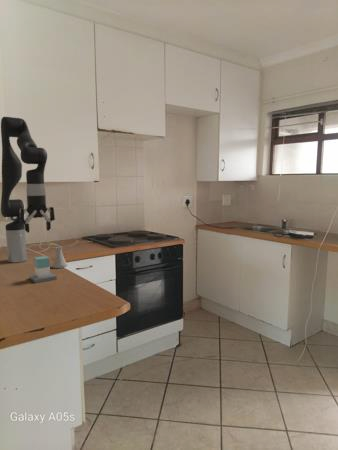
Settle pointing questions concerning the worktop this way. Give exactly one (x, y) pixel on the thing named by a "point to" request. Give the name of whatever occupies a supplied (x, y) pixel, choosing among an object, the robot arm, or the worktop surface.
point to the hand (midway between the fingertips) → (38, 231)
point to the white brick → (42, 272)
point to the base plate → (42, 278)
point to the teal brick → (41, 262)
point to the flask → (59, 259)
